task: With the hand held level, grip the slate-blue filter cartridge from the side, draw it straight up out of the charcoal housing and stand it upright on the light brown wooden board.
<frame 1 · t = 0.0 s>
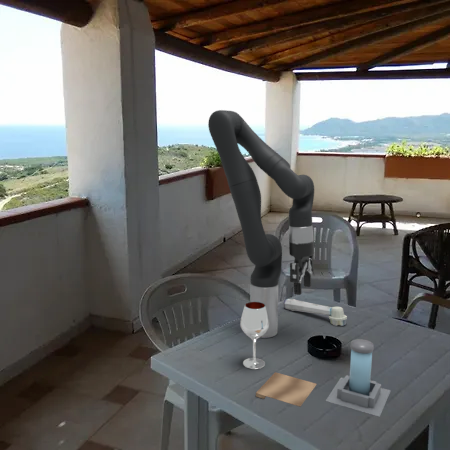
hand: (302, 290, 147), 17 cm above the table, tool pointing down, fingers open, 8 cm apart
wineglass: (254, 364, 136), on the table
toothbrush head: (314, 317, 171), on the table
light brown wooden board: (286, 391, 121), on the table
cartridge housing: (358, 399, 118), on the table
filter cartridge: (358, 395, 118), point 1 cm above the table, touching cartridge housing
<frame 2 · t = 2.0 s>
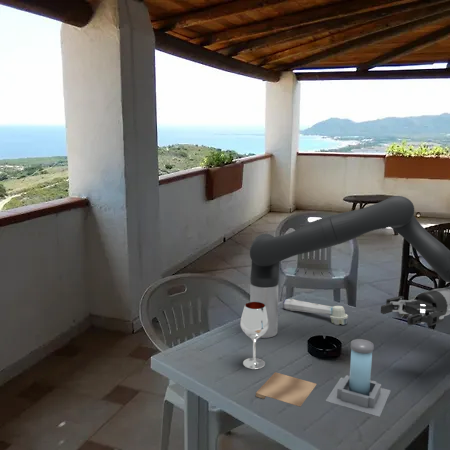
hand: (394, 315, 119), 20 cm above the table, tool horizontal, fingers open, 8 cm apart
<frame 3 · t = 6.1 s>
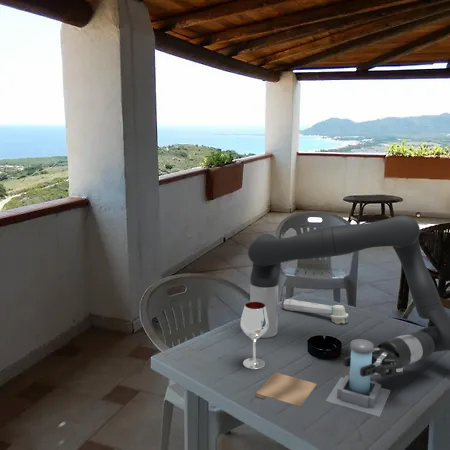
hand: (353, 367, 115), 9 cm above the table, tool horizontal, fingers closed on filter cartridge, 5 cm apart
filter cartridge: (358, 395, 118), point 1 cm above the table, touching cartridge housing, gripper
everything else where it was.
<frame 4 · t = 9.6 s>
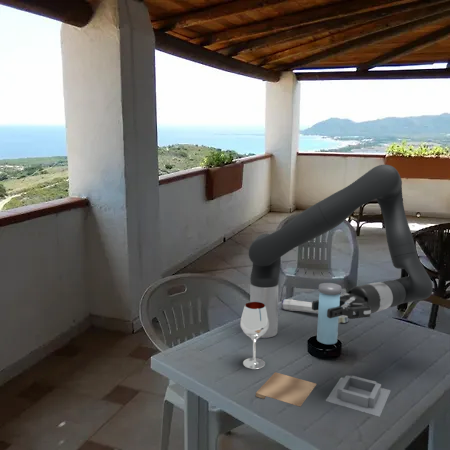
hand: (320, 309, 113), 24 cm above the table, tool horizontal, fingers closed on filter cartridge, 5 cm apart
filter cartridge: (326, 339, 116), point 15 cm above the table, touching gripper
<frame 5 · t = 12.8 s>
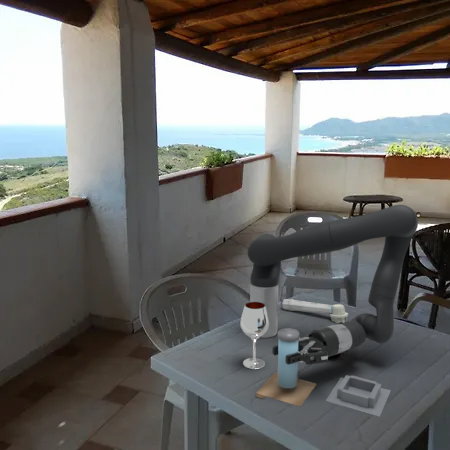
hand: (279, 355, 118), 11 cm above the table, tool horizontal, fingers closed on filter cartridge, 5 cm apart
filter cartridge: (287, 383, 121), point 2 cm above the table, touching gripper
when the fingers open (11 cm above the table, at t = 13.2 s): filter cartridge drops 1 cm, resting on light brown wooden board.
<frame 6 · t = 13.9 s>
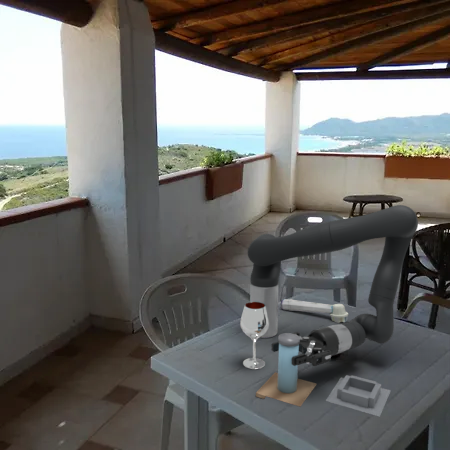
hand: (282, 354, 118), 11 cm above the table, tool horizontal, fingers open, 8 cm apart
filter cartridge: (287, 388, 121), point 1 cm above the table, touching light brown wooden board
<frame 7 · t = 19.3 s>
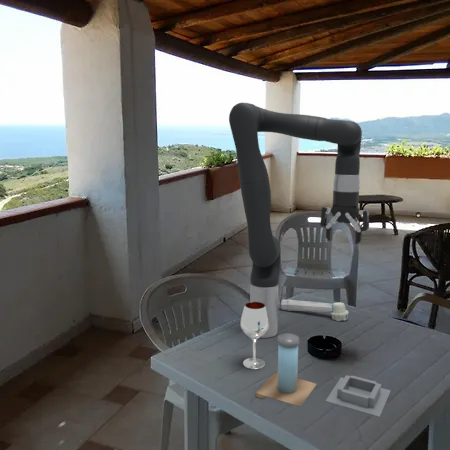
hand: (343, 242, 143), 33 cm above the table, tool pointing down, fingers open, 8 cm apart
at the end: filter cartridge inside the target area on the light brown wooden board (0.1 cm from its centre), point 1.1 cm above the light brown wooden board's base; filter cartridge tilted 1°; the gripper is holding nothing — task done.
